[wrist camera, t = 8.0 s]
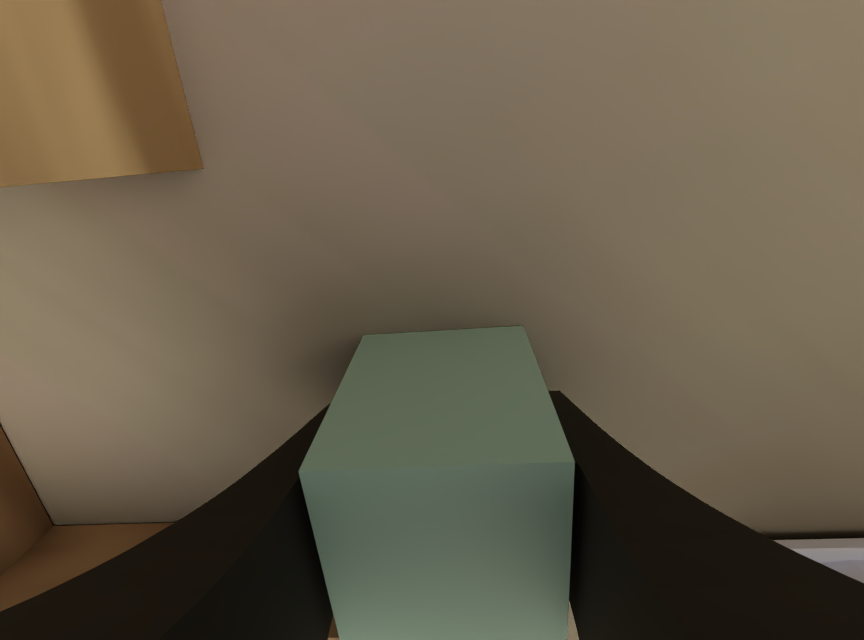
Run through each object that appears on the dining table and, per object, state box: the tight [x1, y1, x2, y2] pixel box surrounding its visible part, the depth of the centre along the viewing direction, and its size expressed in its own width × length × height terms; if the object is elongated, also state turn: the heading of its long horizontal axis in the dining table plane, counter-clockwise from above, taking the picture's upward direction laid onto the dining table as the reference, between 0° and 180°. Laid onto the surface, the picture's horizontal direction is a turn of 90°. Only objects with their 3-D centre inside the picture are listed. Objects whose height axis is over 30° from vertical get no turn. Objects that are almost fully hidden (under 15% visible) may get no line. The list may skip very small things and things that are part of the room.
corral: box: [0, 426, 340, 640], centre depth 9 cm, size 12×19×4 cm, turn 5°
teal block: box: [298, 326, 575, 640], centre depth 9 cm, size 4×4×5 cm
